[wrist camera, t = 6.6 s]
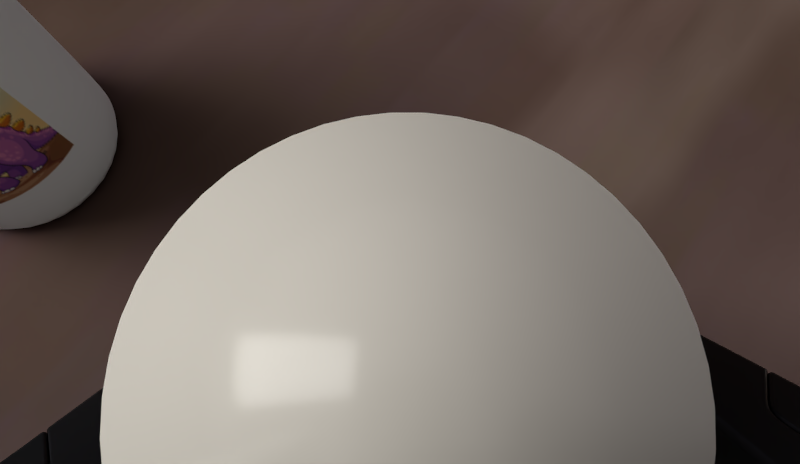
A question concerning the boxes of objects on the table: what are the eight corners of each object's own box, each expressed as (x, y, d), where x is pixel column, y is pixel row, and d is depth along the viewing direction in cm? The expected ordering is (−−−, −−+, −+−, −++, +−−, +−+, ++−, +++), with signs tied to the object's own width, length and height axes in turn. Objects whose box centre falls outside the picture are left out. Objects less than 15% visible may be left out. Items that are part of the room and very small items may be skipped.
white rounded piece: (573, 369, 15) (929, 281, 5) (445, 589, 14) (546, 1186, 3) (383, 244, 16) (327, -48, 6) (246, 432, 15) (-155, 486, 4)
